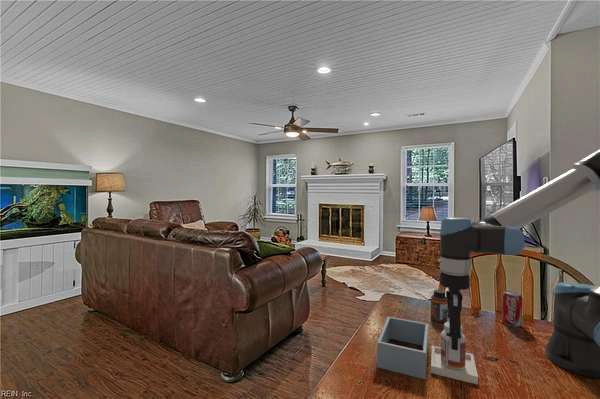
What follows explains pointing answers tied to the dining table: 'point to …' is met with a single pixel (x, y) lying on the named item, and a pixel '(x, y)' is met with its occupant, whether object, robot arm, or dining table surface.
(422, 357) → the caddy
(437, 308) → the supplement bottle
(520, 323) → the soda can
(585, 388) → the dining table surface
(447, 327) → the pill bottle
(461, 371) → the tray
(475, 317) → the dining table surface
